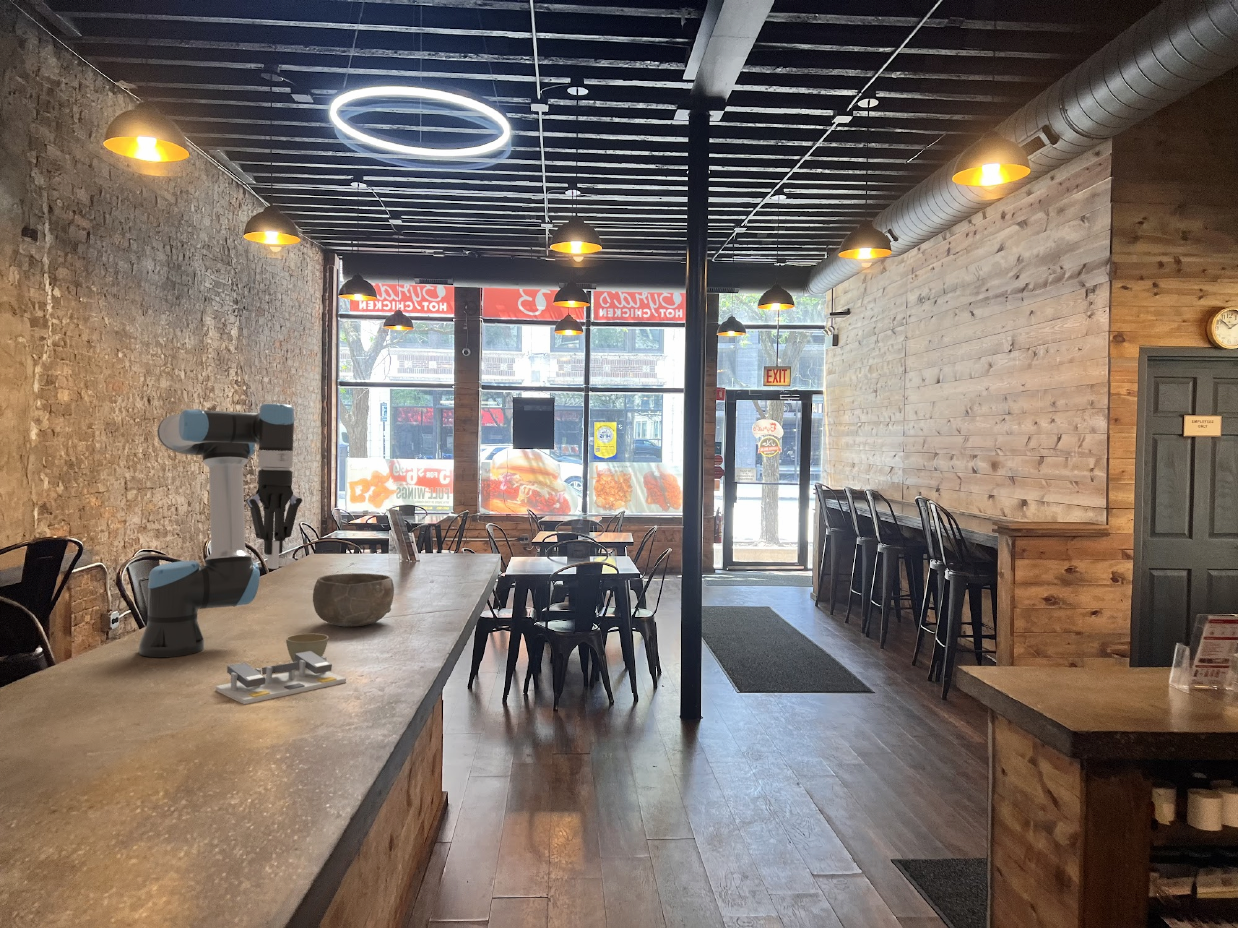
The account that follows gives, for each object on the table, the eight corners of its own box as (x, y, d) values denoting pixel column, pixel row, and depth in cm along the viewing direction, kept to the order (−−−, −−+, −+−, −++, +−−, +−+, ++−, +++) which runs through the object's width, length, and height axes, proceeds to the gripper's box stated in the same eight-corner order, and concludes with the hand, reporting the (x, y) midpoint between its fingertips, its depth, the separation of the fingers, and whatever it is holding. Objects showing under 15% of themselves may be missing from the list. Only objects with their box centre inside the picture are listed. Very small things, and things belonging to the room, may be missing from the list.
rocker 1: (226, 672, 181) (226, 665, 181) (245, 668, 185) (246, 661, 184) (246, 687, 175) (246, 680, 175) (265, 683, 178) (266, 676, 178)
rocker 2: (261, 674, 187) (260, 667, 187) (279, 671, 190) (279, 664, 191) (282, 671, 181) (281, 664, 181) (300, 668, 184) (299, 660, 184)
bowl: (409, 624, 255) (411, 577, 255) (347, 637, 235) (348, 586, 235) (359, 614, 268) (360, 569, 268) (295, 626, 248) (296, 577, 247)
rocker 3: (293, 660, 194) (294, 653, 193) (310, 656, 197) (311, 650, 197) (314, 674, 187) (315, 667, 187) (332, 670, 190) (332, 663, 190)
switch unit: (215, 690, 181) (216, 669, 181) (315, 670, 199) (315, 651, 199) (244, 704, 172) (244, 681, 171) (345, 682, 190) (346, 662, 190)
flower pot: (313, 672, 198) (313, 643, 198) (276, 668, 200) (277, 640, 200) (335, 662, 207) (336, 634, 207) (300, 659, 209) (301, 631, 209)
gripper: (255, 469, 183) (253, 572, 183) (309, 469, 193) (306, 567, 193) (240, 468, 188) (238, 568, 188) (293, 468, 198) (291, 563, 198)
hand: (272, 567), depth 191 cm, fingers closed
